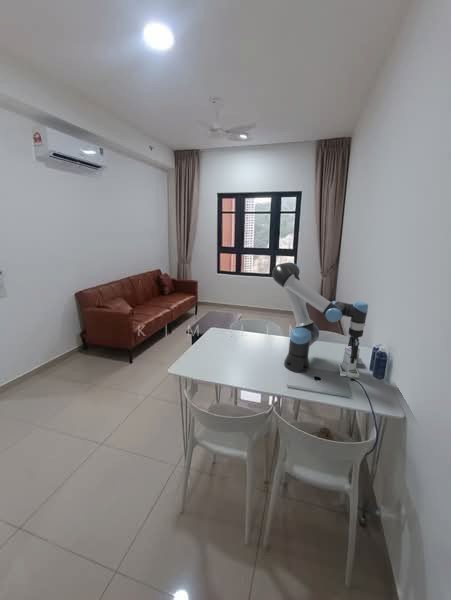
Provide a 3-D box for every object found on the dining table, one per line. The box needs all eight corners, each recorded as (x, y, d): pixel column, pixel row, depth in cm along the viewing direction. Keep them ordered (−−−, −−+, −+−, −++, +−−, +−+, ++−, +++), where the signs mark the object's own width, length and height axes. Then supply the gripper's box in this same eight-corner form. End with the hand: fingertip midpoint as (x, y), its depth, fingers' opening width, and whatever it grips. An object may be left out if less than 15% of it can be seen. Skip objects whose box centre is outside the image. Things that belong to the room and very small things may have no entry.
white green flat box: (339, 376, 157) (340, 371, 157) (337, 365, 170) (337, 361, 169) (359, 379, 155) (360, 375, 154) (354, 368, 167) (355, 364, 167)
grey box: (350, 370, 165) (351, 364, 164) (347, 360, 177) (347, 355, 176) (364, 372, 163) (365, 367, 162) (360, 362, 175) (361, 357, 174)
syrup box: (348, 372, 158) (352, 350, 154) (341, 367, 163) (345, 345, 159) (356, 371, 159) (360, 349, 155) (349, 366, 165) (353, 345, 161)
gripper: (367, 336, 144) (359, 374, 150) (359, 323, 163) (353, 357, 169) (352, 334, 146) (345, 371, 152) (346, 321, 165) (340, 355, 171)
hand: (349, 364), depth 160 cm, fingers closed on syrup box, 7 cm apart
